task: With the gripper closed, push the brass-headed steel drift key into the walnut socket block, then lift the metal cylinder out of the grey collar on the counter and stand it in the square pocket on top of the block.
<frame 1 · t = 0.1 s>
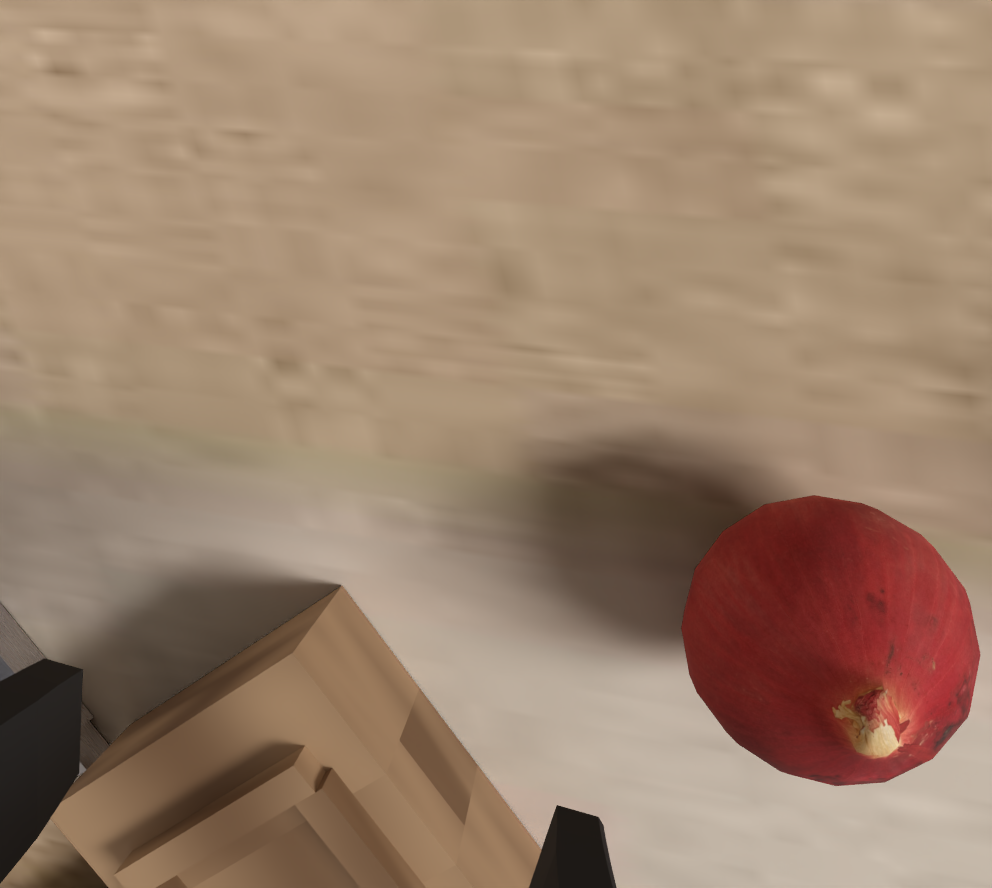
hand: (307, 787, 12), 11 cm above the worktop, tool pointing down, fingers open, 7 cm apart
onion: (782, 568, 22), on the worktop
socket block: (338, 792, 25), on the worktop
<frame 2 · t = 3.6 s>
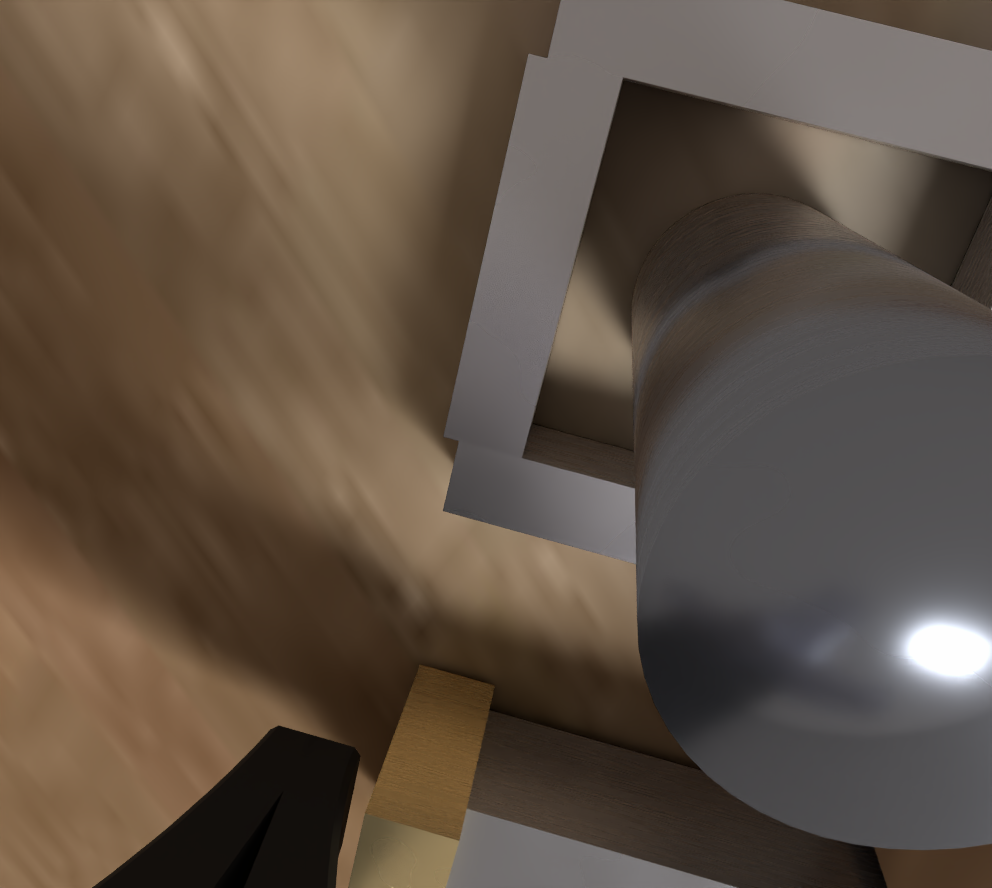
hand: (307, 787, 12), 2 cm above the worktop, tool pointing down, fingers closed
metal cylinder: (796, 400, 7), in the collar
collar: (745, 310, 11), on the worktop
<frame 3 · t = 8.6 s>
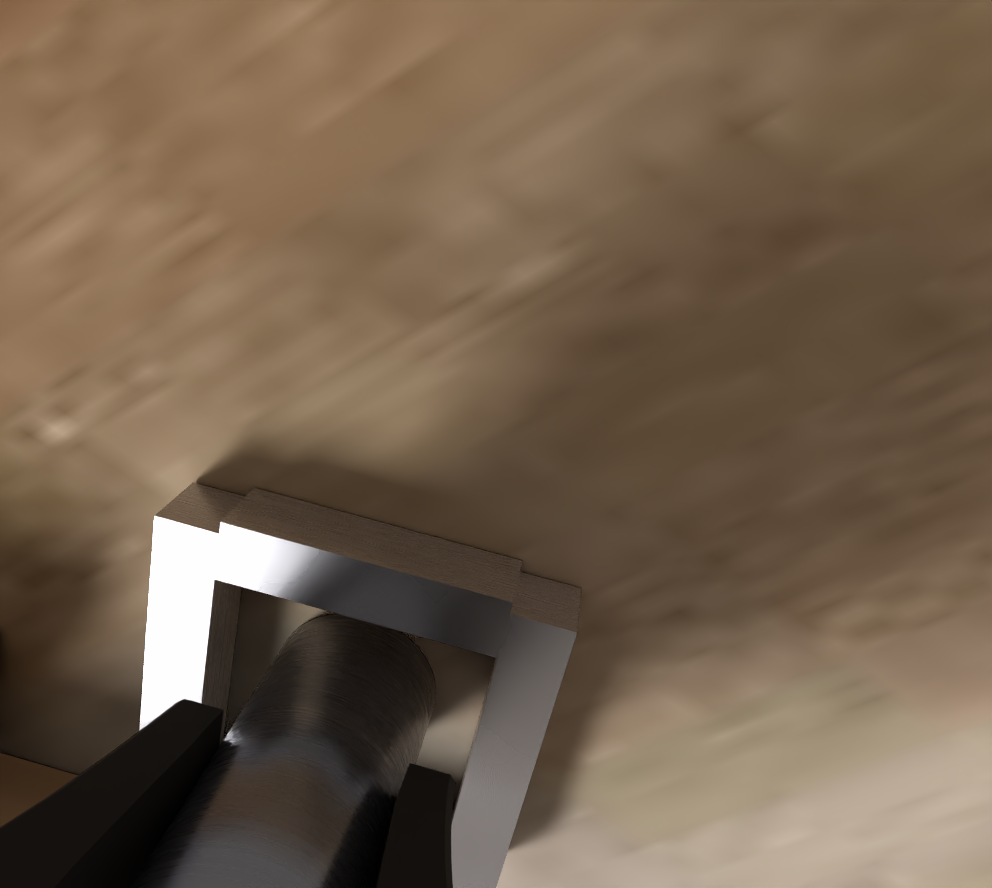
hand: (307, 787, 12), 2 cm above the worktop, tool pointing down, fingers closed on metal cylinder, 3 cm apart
metal cylinder: (279, 846, 11), in the collar, touching gripper
collar: (355, 683, 15), on the worktop
when the fingers open (7 cm above the worktop, at t = 10.9 s): metal cylinder stays where it is, resting on socket block.
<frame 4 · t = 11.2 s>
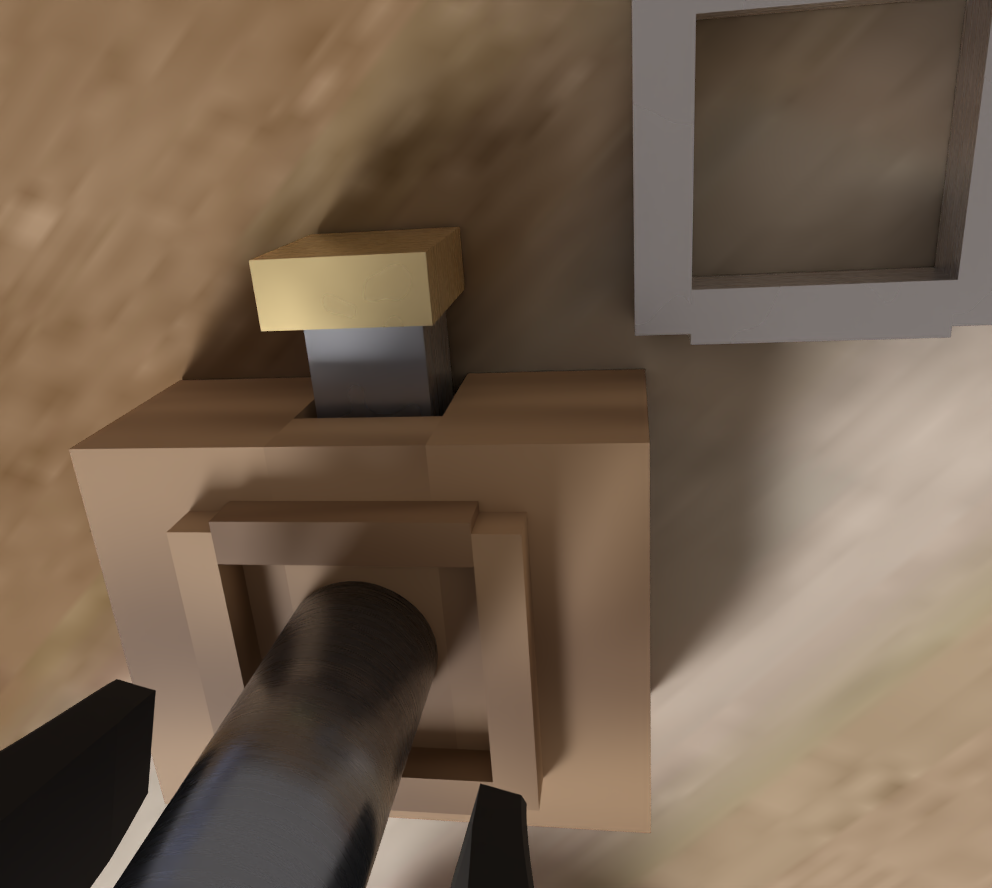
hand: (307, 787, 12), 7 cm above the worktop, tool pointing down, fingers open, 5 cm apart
metal cylinder: (296, 787, 12), point 8 cm above the worktop, touching socket block
collar: (816, 147, 15), on the worktop
drift key: (391, 477, 17), point 2 cm above the worktop, slide at 0.0 cm
socket block: (421, 544, 19), on the worktop
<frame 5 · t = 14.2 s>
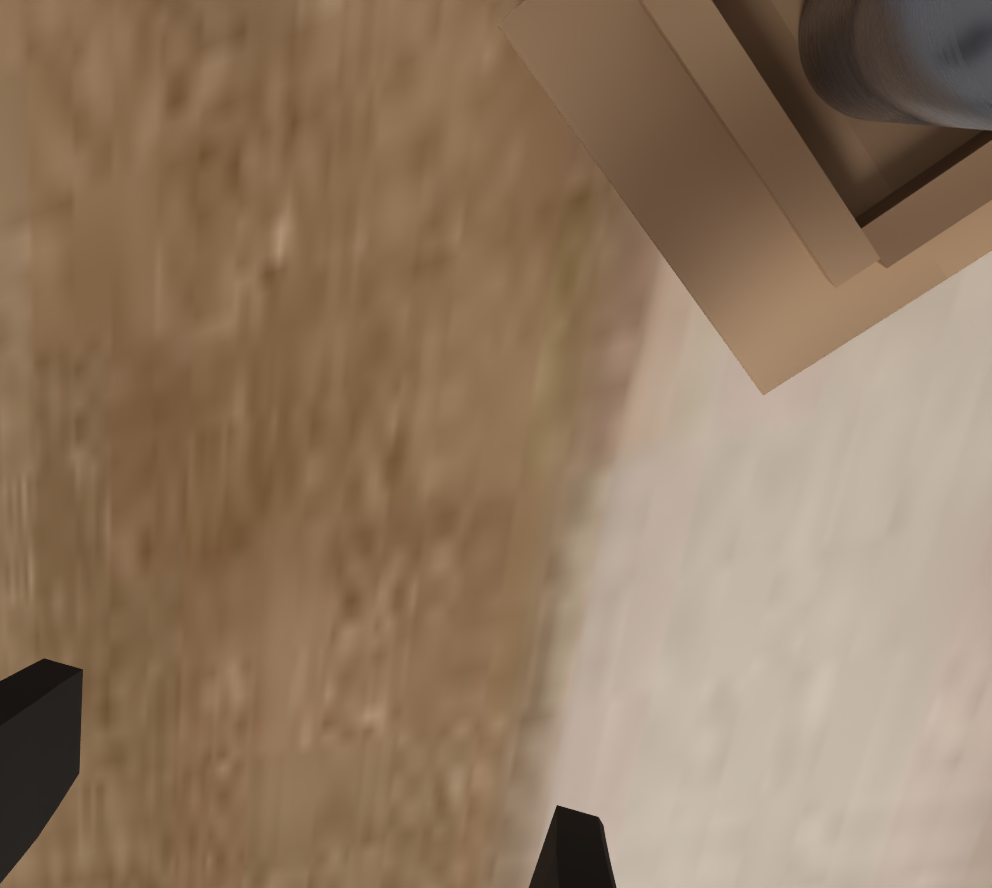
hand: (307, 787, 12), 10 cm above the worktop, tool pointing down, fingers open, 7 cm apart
metal cylinder: (975, 1, 10), point 8 cm above the worktop, touching socket block
socket block: (843, 37, 17), on the worktop
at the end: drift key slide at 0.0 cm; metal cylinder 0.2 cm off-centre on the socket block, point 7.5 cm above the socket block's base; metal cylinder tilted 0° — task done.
